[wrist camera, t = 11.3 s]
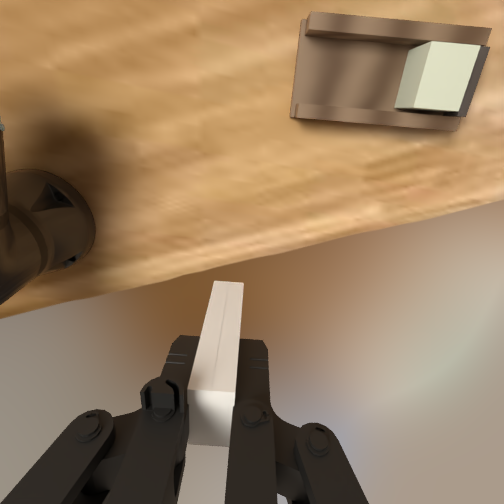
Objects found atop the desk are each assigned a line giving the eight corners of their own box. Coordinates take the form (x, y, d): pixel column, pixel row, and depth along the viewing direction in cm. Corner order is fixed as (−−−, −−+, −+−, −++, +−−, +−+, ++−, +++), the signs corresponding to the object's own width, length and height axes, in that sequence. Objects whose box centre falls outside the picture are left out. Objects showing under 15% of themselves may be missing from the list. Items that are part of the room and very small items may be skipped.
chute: (289, 116, 38) (292, 117, 35) (300, 21, 34) (306, 10, 31) (441, 129, 39) (460, 131, 35) (471, 37, 35) (496, 28, 31)
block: (394, 107, 37) (413, 107, 32) (408, 50, 34) (431, 41, 30) (433, 111, 37) (458, 111, 32) (451, 54, 34) (480, 45, 30)
